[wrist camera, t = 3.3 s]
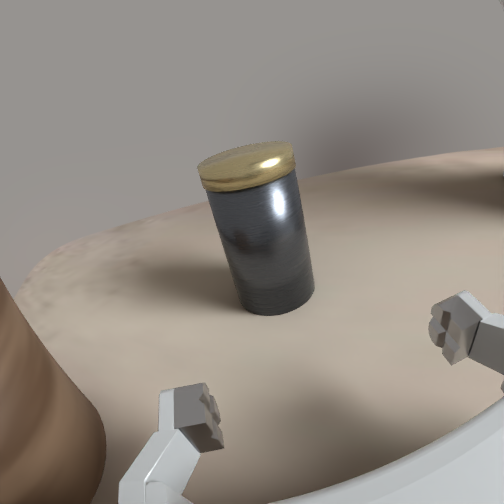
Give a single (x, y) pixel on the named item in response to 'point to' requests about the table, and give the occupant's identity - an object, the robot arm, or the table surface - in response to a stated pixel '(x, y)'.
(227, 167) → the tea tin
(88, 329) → the table surface
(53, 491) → the brown wooden cylinder
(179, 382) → the table surface
